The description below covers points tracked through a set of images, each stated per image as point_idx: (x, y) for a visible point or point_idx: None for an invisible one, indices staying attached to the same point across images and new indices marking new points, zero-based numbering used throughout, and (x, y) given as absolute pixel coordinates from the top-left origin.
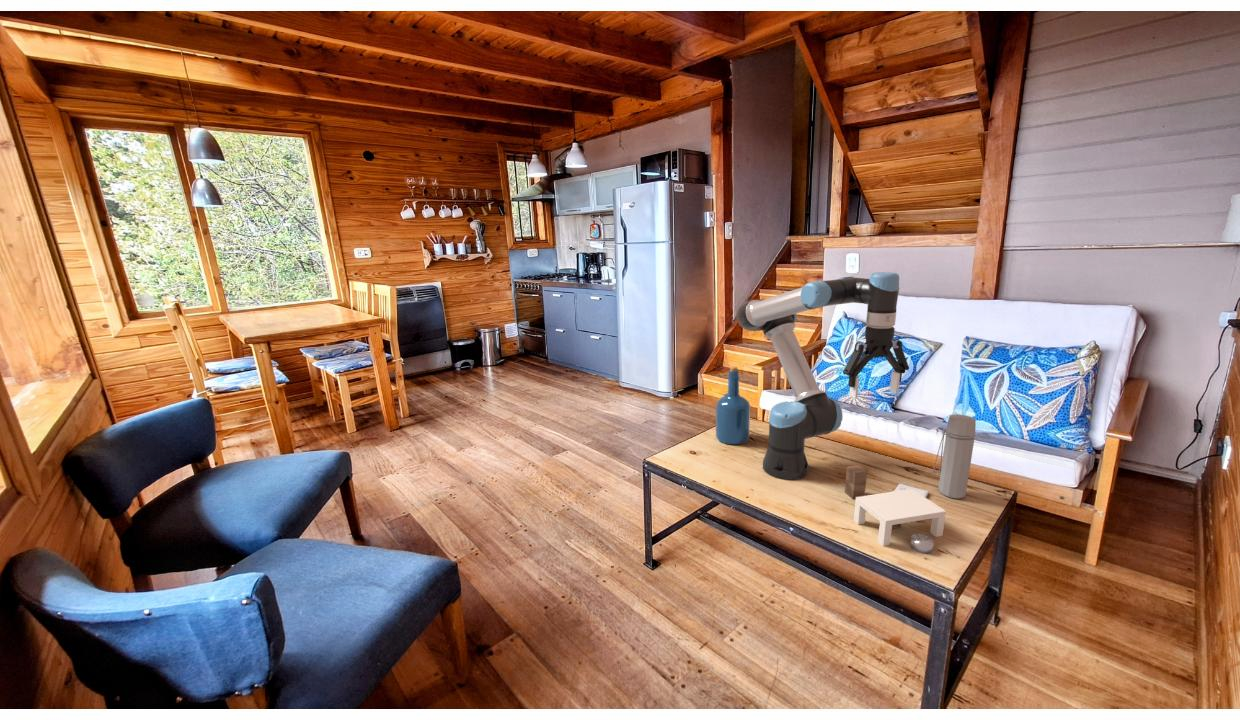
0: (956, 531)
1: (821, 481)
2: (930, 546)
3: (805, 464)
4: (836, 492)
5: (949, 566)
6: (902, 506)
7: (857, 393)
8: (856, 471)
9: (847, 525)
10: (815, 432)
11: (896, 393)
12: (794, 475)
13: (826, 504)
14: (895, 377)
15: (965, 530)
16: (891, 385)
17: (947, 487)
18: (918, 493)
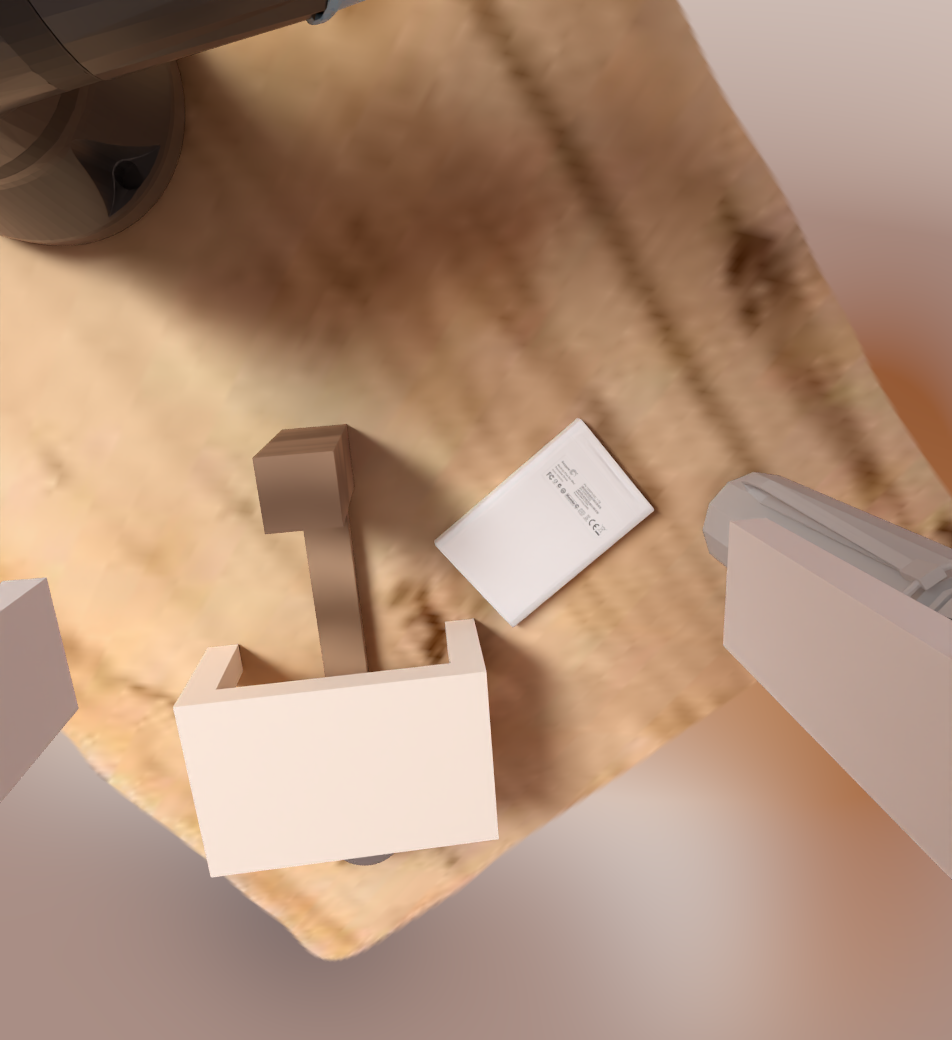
0: (553, 748)
1: (211, 296)
2: (372, 861)
3: (135, 156)
4: (241, 420)
5: (391, 896)
6: (345, 795)
7: (32, 756)
8: (280, 521)
9: (165, 673)
10: (107, 79)
11: (735, 648)
12: (42, 243)
13: (142, 515)
14: (890, 752)
15: (588, 746)
16: (783, 582)
17: (724, 558)
18: (487, 710)
